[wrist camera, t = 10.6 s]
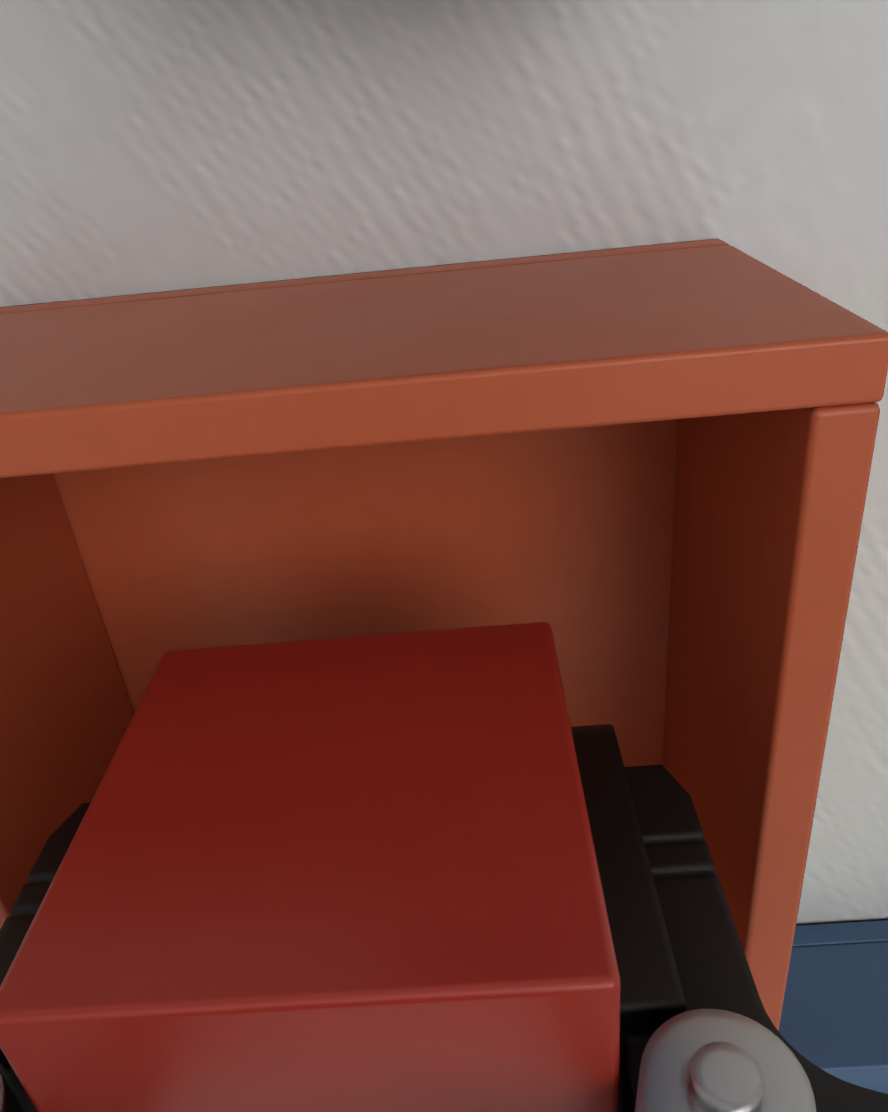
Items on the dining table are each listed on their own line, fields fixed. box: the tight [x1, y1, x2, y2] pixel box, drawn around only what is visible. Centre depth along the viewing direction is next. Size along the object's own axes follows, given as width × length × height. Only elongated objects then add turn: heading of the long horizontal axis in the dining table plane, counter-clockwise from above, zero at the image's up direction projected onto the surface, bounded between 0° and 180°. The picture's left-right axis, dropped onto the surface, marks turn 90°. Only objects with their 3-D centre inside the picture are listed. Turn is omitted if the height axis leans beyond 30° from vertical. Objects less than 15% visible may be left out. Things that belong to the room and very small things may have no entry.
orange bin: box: [0, 239, 888, 1031], centre depth 12 cm, size 11×10×5 cm
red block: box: [0, 622, 621, 1112], centre depth 9 cm, size 4×4×4 cm
